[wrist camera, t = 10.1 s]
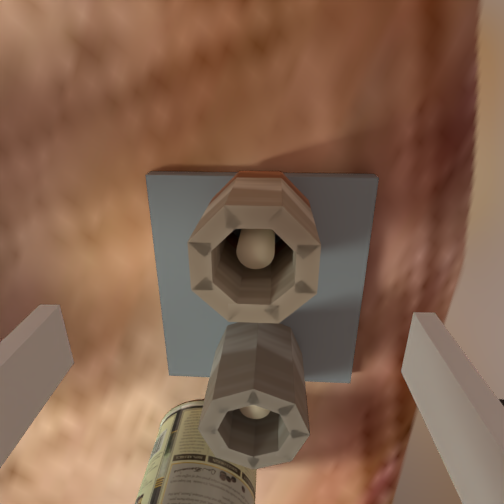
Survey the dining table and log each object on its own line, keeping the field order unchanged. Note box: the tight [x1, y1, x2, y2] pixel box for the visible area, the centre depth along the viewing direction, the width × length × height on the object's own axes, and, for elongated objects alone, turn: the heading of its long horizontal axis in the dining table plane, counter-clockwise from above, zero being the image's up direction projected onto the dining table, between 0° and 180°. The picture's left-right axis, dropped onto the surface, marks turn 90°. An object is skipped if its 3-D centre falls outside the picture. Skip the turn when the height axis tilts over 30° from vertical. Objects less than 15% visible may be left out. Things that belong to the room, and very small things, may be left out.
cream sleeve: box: [187, 171, 321, 324], centre depth 23 cm, size 7×7×8 cm
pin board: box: [146, 171, 379, 419], centre depth 27 cm, size 16×18×7 cm
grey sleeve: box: [198, 322, 310, 470], centre depth 28 cm, size 7×7×8 cm
